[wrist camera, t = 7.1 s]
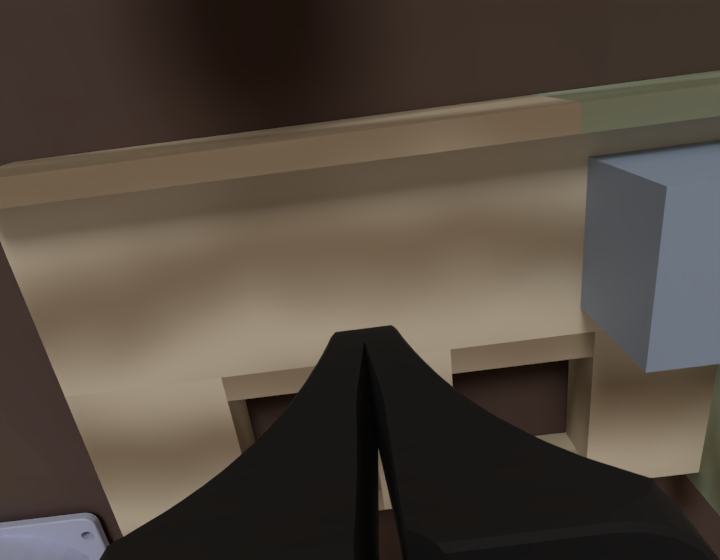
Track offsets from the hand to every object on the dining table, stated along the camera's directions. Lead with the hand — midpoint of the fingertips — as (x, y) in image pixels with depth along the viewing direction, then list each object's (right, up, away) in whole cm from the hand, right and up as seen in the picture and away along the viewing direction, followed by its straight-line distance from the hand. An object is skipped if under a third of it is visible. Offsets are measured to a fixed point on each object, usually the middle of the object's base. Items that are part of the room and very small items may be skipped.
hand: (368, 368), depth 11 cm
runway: (+1, 0, +9) cm, 9 cm away
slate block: (+9, +4, +5) cm, 11 cm away
